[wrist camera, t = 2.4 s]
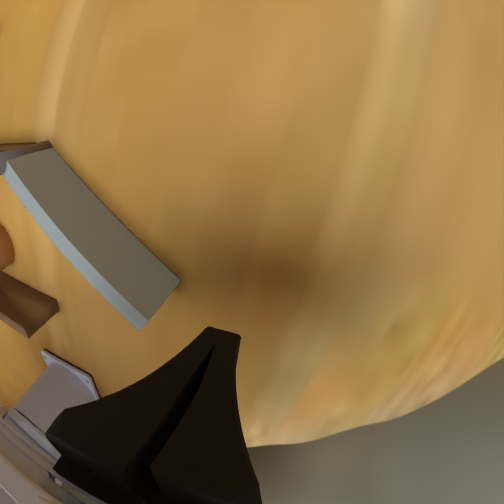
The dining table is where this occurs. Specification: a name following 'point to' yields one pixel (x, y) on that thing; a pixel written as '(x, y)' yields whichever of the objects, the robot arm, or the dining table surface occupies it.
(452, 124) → the dining table surface
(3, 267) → the tan rounded cylinder
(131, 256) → the door
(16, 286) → the cubby
